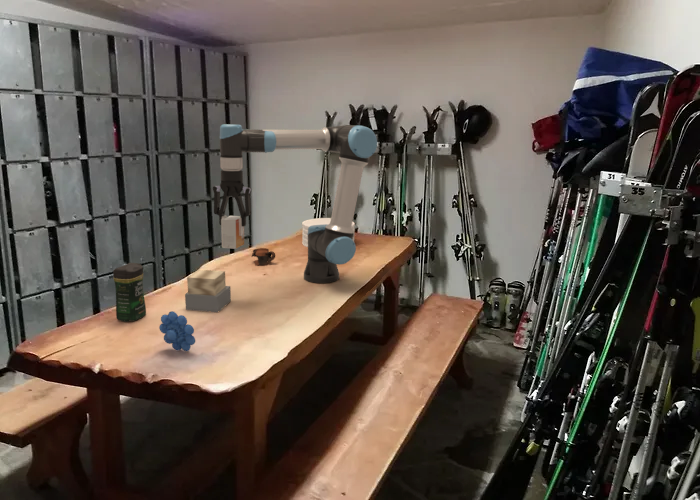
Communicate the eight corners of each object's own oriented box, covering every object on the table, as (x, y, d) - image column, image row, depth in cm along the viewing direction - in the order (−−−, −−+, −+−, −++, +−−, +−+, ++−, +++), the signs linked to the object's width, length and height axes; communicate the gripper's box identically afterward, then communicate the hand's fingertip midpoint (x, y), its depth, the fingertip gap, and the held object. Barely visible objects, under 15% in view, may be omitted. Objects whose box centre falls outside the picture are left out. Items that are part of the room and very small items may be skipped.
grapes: (152, 353, 156) (149, 314, 153) (166, 344, 162) (163, 306, 159) (186, 359, 153) (184, 319, 150) (200, 350, 159) (198, 311, 156)
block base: (230, 301, 200) (230, 286, 199) (218, 312, 189) (217, 296, 187) (200, 299, 202) (199, 283, 201) (185, 310, 191) (184, 294, 189)
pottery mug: (248, 266, 247) (247, 249, 249) (258, 270, 256) (257, 253, 258) (272, 262, 244) (271, 244, 246) (281, 266, 252) (280, 249, 254)
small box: (236, 249, 191) (235, 220, 188) (221, 248, 192) (220, 219, 189) (244, 244, 198) (244, 216, 196) (230, 243, 199) (230, 215, 197)
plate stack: (305, 237, 305) (305, 217, 302) (354, 238, 304) (355, 218, 302) (299, 249, 278) (299, 227, 275) (353, 250, 277) (353, 229, 274)
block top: (225, 286, 198) (225, 271, 197) (215, 295, 188) (214, 279, 187) (199, 285, 199) (199, 269, 198) (188, 293, 190) (187, 277, 188)
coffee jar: (133, 323, 177) (129, 269, 173) (112, 321, 179) (107, 267, 174) (150, 313, 186) (146, 261, 182) (130, 311, 188) (125, 260, 183)
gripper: (260, 169, 190) (261, 234, 196) (210, 167, 193) (212, 230, 199) (253, 171, 183) (254, 238, 189) (201, 169, 186) (204, 234, 192)
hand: (233, 234), depth 194 cm, fingers closed on small box, 6 cm apart
